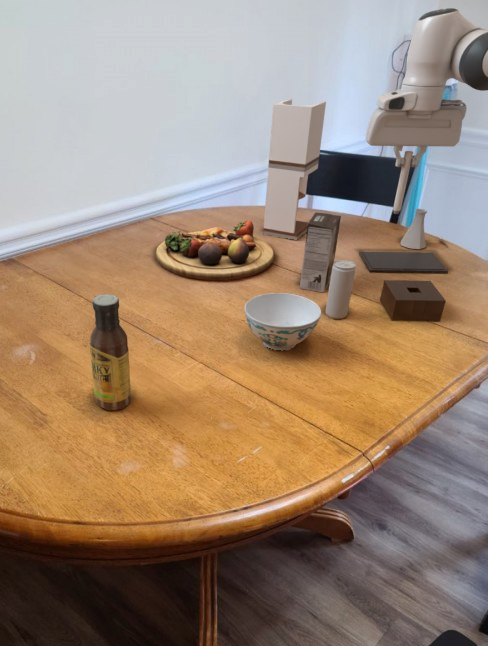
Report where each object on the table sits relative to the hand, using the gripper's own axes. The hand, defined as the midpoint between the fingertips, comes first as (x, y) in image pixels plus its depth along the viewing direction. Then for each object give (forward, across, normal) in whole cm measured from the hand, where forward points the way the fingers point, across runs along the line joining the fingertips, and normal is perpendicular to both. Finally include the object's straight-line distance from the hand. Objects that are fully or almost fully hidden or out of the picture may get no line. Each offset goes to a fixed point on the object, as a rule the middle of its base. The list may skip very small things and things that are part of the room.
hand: (406, 166), depth 131 cm
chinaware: (+26, +30, +38) cm, 55 cm away
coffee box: (+26, +18, +8) cm, 33 cm away
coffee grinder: (+26, +22, -30) cm, 46 cm away
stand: (+26, -1, +22) cm, 34 cm away
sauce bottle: (+26, +61, +60) cm, 90 cm away
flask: (+26, -13, -20) cm, 36 cm away
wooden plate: (+26, +44, -8) cm, 52 cm away
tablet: (+26, -6, -6) cm, 28 cm away
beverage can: (+26, +16, +25) cm, 40 cm away
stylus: (+11, 0, 0) cm, 11 cm away
